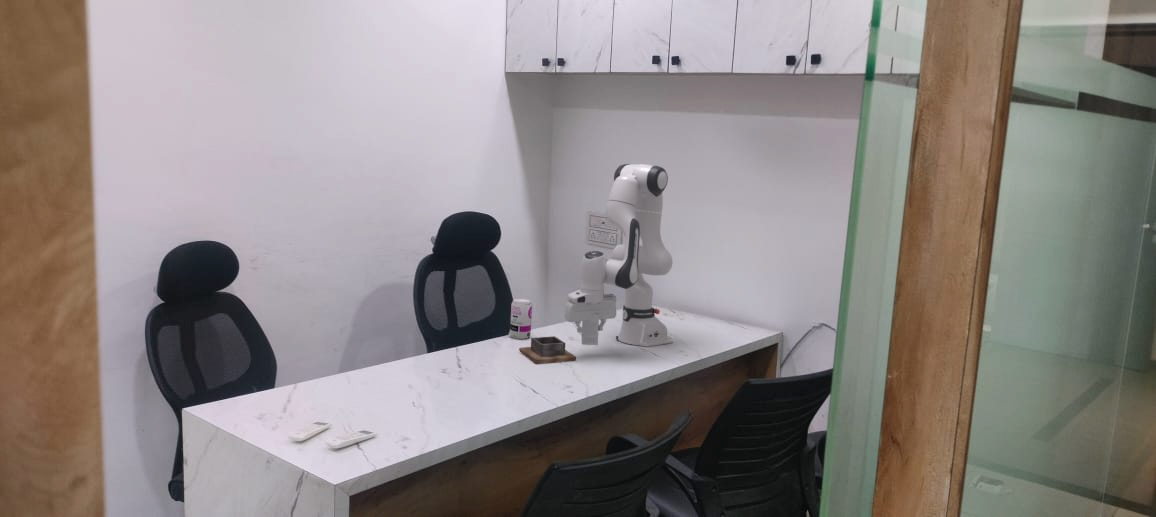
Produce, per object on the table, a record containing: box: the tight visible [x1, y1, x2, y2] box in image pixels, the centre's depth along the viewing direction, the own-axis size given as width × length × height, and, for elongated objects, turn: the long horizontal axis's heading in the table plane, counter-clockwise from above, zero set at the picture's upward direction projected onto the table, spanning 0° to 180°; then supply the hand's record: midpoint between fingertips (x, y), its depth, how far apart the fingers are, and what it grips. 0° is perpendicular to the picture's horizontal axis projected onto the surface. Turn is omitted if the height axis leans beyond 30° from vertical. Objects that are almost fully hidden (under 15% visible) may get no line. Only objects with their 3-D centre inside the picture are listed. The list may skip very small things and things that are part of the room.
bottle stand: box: [518, 335, 577, 365], centre depth 292 cm, size 16×16×6 cm
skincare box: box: [581, 313, 600, 346], centre depth 296 cm, size 6×4×12 cm
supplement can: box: [509, 297, 533, 340], centre depth 316 cm, size 8×8×15 cm
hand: (590, 331), depth 296 cm, fingers closed on skincare box, 7 cm apart
